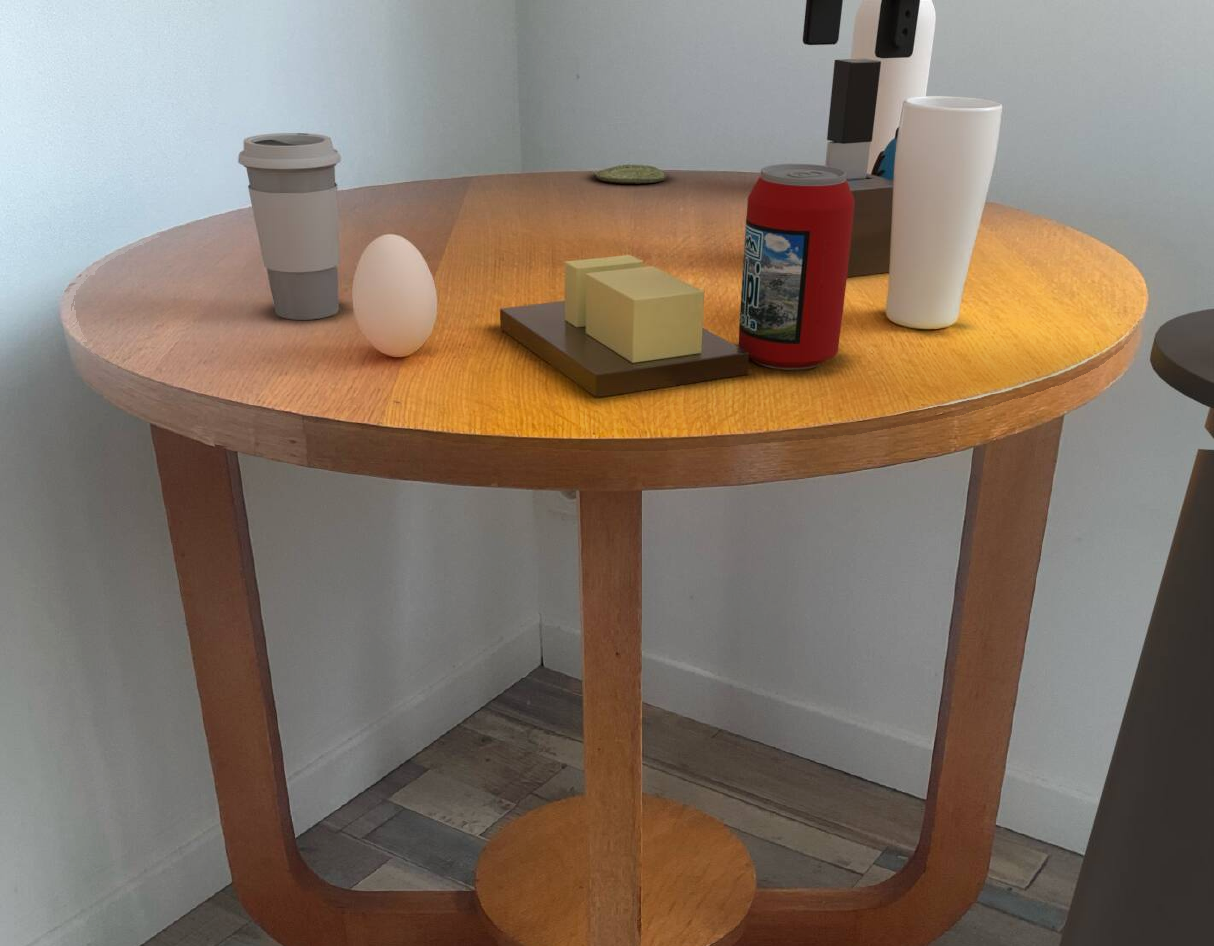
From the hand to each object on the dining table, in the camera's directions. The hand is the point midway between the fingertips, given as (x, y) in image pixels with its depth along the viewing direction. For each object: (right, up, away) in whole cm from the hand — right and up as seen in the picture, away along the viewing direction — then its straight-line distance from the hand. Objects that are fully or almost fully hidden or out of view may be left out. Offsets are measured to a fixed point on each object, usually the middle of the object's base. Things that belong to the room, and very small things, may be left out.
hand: (855, 50), depth 96 cm
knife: (0, -14, +8) cm, 17 cm away
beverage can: (-8, -28, -14) cm, 32 cm away
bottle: (+9, +1, +35) cm, 37 cm away
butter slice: (-20, -25, -12) cm, 34 cm away
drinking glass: (+4, -23, -6) cm, 24 cm away
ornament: (+6, -10, +16) cm, 20 cm away
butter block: (-17, -27, -17) cm, 36 cm away
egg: (-34, -28, -14) cm, 46 cm away
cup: (-42, -22, -6) cm, 48 cm away
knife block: (0, -14, +8) cm, 17 cm away
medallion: (-17, +6, +42) cm, 45 cm away
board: (-19, -27, -13) cm, 36 cm away
